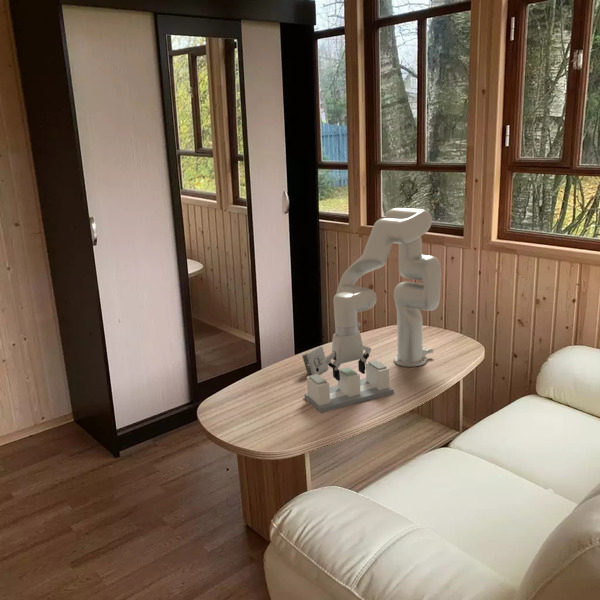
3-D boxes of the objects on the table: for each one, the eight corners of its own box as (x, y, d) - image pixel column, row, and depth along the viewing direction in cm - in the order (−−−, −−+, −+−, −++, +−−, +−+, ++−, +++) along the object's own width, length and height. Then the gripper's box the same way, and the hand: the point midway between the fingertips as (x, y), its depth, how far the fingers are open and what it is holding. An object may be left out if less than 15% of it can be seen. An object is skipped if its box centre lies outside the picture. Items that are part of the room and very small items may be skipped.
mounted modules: (376, 378, 217) (375, 358, 215) (389, 387, 210) (389, 367, 207) (308, 395, 207) (306, 375, 205) (319, 405, 199) (318, 384, 197)
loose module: (349, 385, 213) (348, 366, 211) (360, 394, 206) (359, 373, 204) (338, 388, 211) (337, 368, 209) (348, 397, 204) (347, 376, 202)
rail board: (374, 380, 220) (374, 376, 219) (393, 393, 208) (393, 389, 208) (304, 397, 209) (304, 393, 209) (320, 412, 198) (320, 408, 197)
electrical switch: (314, 377, 226) (311, 354, 224) (303, 376, 229) (300, 352, 227) (329, 369, 233) (326, 346, 231) (318, 367, 236) (315, 345, 234)
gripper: (363, 320, 209) (366, 366, 214) (318, 331, 202) (322, 378, 208) (374, 326, 202) (377, 373, 207) (328, 338, 196) (332, 386, 201)
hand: (349, 375), depth 207 cm, fingers open, 9 cm apart
